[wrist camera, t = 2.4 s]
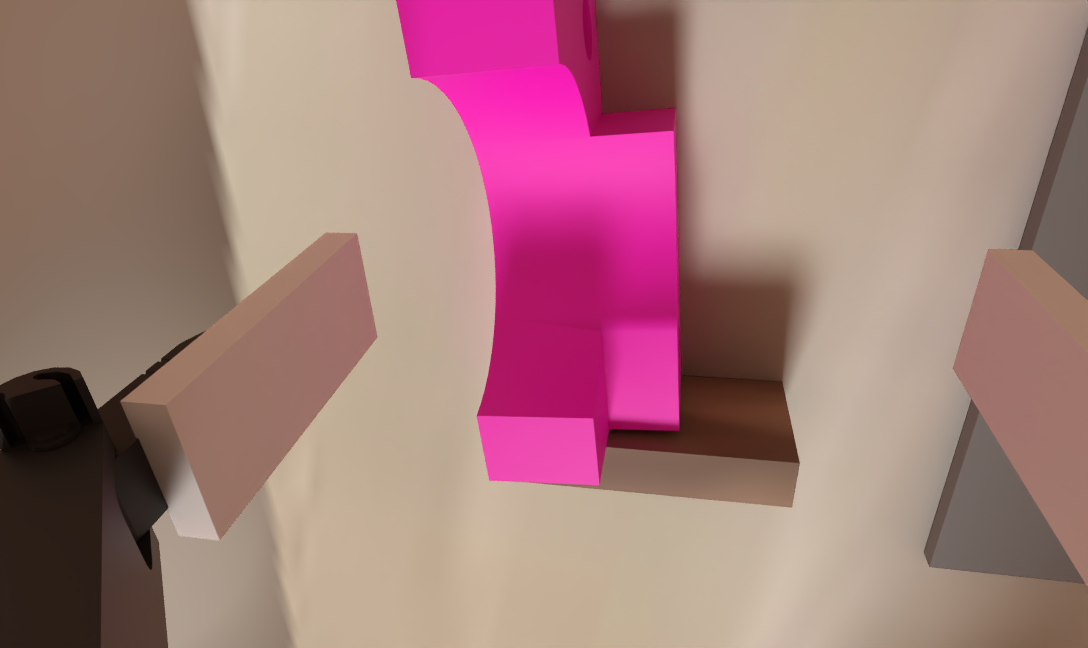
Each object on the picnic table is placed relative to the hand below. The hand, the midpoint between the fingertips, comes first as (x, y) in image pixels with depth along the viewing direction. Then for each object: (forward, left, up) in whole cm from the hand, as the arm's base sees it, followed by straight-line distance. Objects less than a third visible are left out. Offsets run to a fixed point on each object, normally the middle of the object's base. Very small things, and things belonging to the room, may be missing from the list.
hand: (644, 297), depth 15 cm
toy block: (-1, +3, -11) cm, 11 cm away
